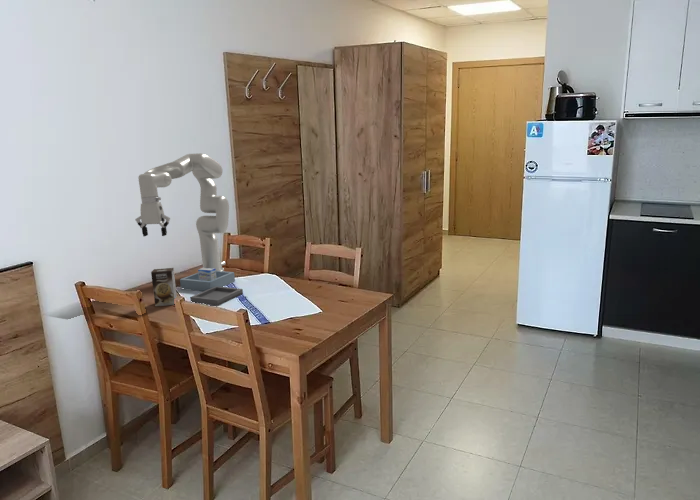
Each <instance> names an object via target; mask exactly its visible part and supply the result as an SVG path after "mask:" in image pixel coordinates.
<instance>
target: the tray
mask: <svg viewBox="0 0 700 500" xmlns="http://www.w3.org/2000/svg"><path fill="white" fill-rule="evenodd" d="M242 295H244V291H243V288H238V287H237V288H236V287H228V286H224V287H220V286H215V287H213V288H210V289H208V290H206V291H200V292H199V293H196V294H194V295H192V296H190V298H189V299H190V302H191V301H192V302H198V303H197V304H200V303H204V304H203V305H208V304H209V306H215V307H216V306H217V307H218V306H221V305H223V304H225V303H227V302H229V301H231V300H234V299H235V298H237V297H239V296H242ZM192 302H191V303H192Z"/></svg>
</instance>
